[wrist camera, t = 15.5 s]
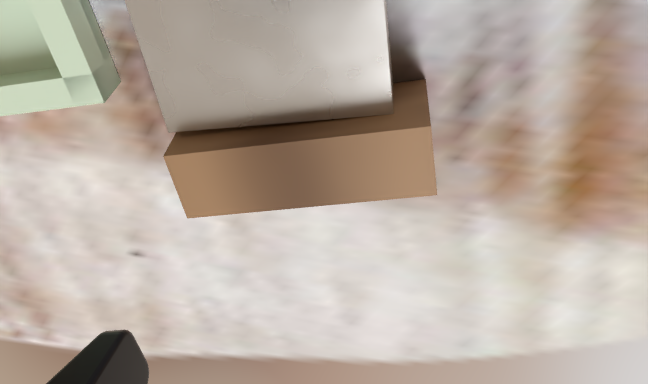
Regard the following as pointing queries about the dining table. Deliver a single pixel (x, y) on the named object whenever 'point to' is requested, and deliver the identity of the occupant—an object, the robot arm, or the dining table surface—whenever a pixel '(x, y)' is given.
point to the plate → (265, 60)
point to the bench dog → (307, 161)
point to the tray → (52, 56)
